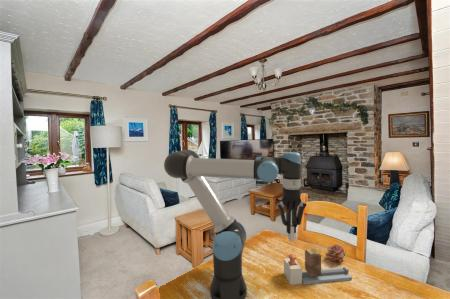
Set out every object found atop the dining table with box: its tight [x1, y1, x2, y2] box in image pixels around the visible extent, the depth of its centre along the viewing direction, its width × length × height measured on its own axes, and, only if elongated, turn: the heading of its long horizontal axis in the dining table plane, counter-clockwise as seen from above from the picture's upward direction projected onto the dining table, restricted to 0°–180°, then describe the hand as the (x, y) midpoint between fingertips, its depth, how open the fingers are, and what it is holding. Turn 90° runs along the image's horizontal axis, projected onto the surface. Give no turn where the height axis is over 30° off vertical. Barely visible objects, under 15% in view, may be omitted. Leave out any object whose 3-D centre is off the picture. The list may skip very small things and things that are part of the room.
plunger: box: [288, 253, 297, 266], centre depth 96 cm, size 3×3×6 cm
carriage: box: [304, 248, 322, 276], centre depth 95 cm, size 5×5×10 cm
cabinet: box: [283, 257, 303, 286], centre depth 96 cm, size 5×8×7 cm, turn 5°
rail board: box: [302, 266, 353, 285], centre depth 96 cm, size 22×7×3 cm, turn 95°
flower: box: [325, 243, 347, 262], centre depth 108 cm, size 10×9×8 cm
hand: (291, 240), depth 95 cm, fingers closed
